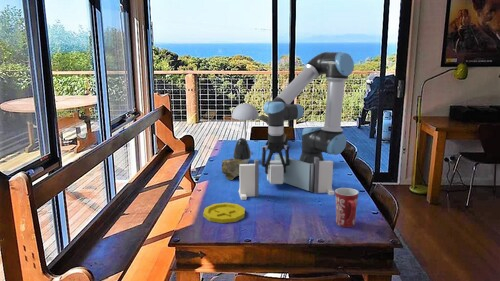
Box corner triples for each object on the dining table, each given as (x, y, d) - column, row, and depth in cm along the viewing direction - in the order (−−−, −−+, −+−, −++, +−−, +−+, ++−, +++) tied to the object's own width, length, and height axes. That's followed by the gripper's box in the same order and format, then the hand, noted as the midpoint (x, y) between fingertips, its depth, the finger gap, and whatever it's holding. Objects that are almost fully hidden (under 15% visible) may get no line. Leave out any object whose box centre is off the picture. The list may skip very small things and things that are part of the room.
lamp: (263, 152, 270) (263, 102, 263) (249, 158, 256) (249, 105, 249) (241, 149, 279) (241, 100, 272) (226, 154, 265) (226, 103, 258)
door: (314, 191, 197) (315, 163, 194) (309, 193, 195) (310, 164, 192) (276, 178, 217) (276, 152, 214) (271, 180, 215) (272, 153, 212)
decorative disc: (201, 223, 164) (200, 218, 163) (207, 206, 181) (207, 202, 181) (243, 224, 163) (243, 219, 163) (245, 207, 180) (245, 203, 180)
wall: (327, 187, 204) (329, 154, 200) (334, 195, 194) (336, 160, 190) (238, 192, 197) (238, 157, 194) (241, 199, 188) (241, 163, 184)
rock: (217, 179, 214) (234, 182, 211) (218, 160, 213) (235, 162, 209) (233, 173, 232) (249, 176, 228) (234, 155, 230) (250, 157, 227)
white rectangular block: (279, 177, 210) (280, 160, 208) (282, 183, 201) (283, 165, 199) (268, 177, 210) (268, 160, 208) (270, 184, 200) (270, 166, 198)
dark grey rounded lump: (231, 165, 242) (231, 139, 239) (236, 160, 252) (235, 135, 248) (248, 166, 240) (248, 140, 236) (252, 161, 249) (252, 136, 246)
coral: (285, 150, 275) (286, 118, 270) (255, 149, 279) (255, 117, 274) (289, 142, 299) (289, 112, 294) (261, 140, 303) (261, 111, 298)
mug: (330, 219, 167) (332, 187, 164) (352, 218, 168) (354, 187, 165) (339, 233, 155) (341, 199, 152) (363, 232, 155) (365, 198, 152)
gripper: (293, 131, 205) (292, 176, 210) (255, 133, 202) (254, 178, 208) (297, 135, 198) (295, 181, 203) (257, 136, 195) (257, 182, 200)
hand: (275, 179), depth 205 cm, fingers closed on white rectangular block, 6 cm apart
